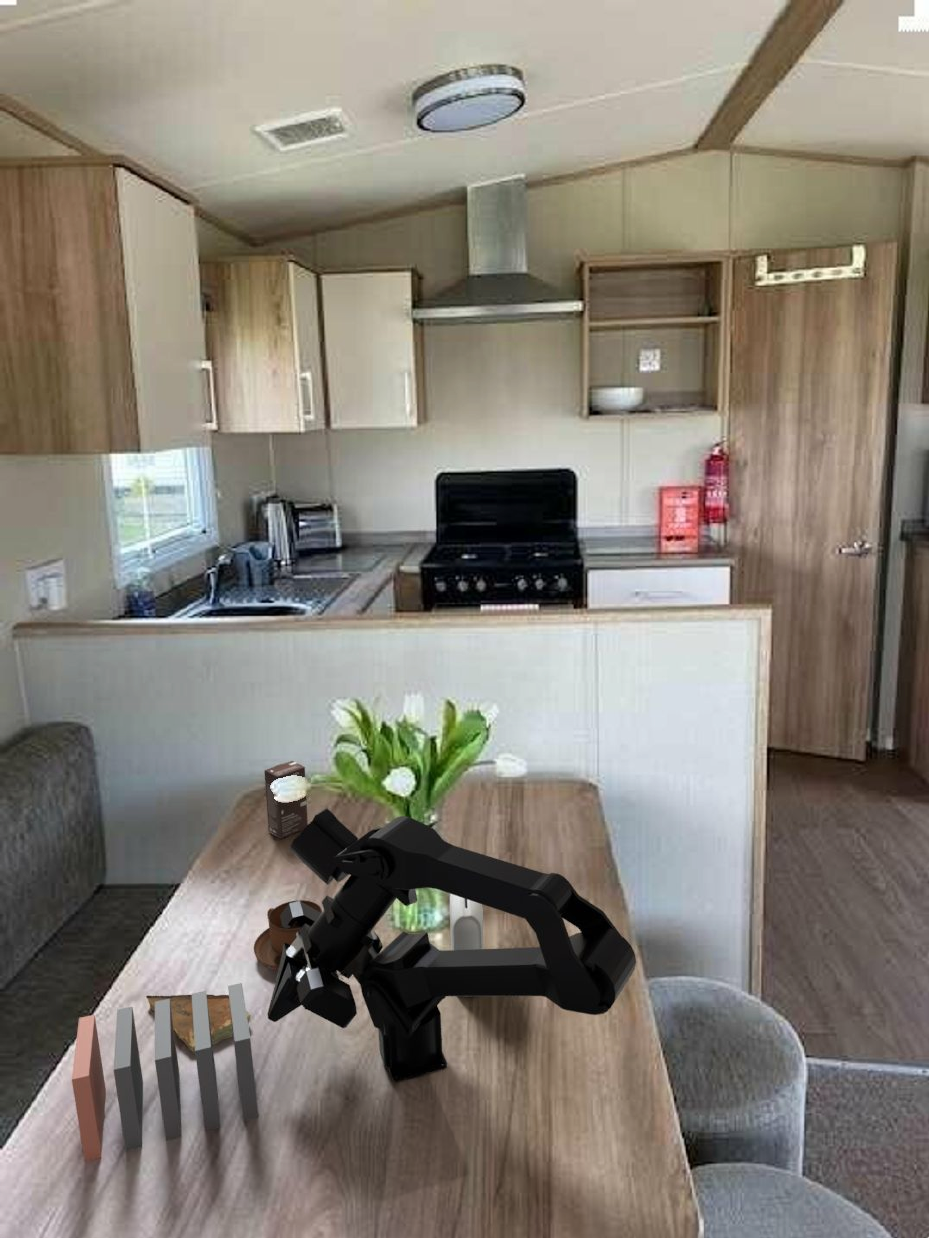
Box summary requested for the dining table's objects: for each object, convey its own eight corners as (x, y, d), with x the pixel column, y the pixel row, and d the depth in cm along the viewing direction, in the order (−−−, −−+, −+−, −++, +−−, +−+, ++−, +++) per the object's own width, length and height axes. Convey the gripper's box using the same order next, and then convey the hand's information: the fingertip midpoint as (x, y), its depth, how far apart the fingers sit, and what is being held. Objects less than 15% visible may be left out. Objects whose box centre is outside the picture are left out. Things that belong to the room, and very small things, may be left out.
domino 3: (179, 1073, 108) (169, 998, 106) (181, 1136, 99) (171, 1056, 96) (164, 1076, 108) (154, 1001, 105) (165, 1141, 98) (154, 1060, 96)
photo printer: (451, 951, 129) (448, 871, 126) (482, 950, 129) (479, 869, 126) (453, 999, 119) (449, 913, 116) (486, 997, 120) (483, 911, 116)
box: (282, 840, 163) (276, 776, 160) (268, 832, 166) (262, 769, 163) (310, 828, 167) (305, 765, 164) (296, 820, 170) (291, 759, 167)
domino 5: (249, 1056, 110) (242, 982, 108) (258, 1117, 101) (250, 1037, 99) (235, 1059, 110) (227, 985, 108) (243, 1121, 101) (234, 1041, 98)
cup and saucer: (237, 970, 127) (233, 930, 126) (283, 923, 138) (280, 886, 137) (315, 987, 123) (312, 945, 122) (356, 937, 134) (353, 898, 132)
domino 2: (143, 1082, 107) (132, 1006, 105) (142, 1147, 98) (130, 1065, 95) (128, 1085, 106) (117, 1009, 104) (125, 1151, 97) (113, 1069, 95)
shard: (147, 1007, 120) (145, 993, 120) (214, 978, 126) (212, 963, 126) (191, 1060, 111) (189, 1044, 110) (261, 1025, 116) (259, 1010, 116)
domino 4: (214, 1064, 109) (206, 990, 107) (220, 1126, 100) (210, 1046, 98) (200, 1068, 109) (191, 993, 106) (205, 1131, 100) (195, 1050, 97)
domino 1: (106, 1090, 106) (94, 1014, 103) (101, 1157, 97) (88, 1075, 94) (90, 1094, 105) (79, 1017, 103) (84, 1161, 96) (71, 1079, 94)
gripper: (430, 988, 101) (341, 1103, 101) (390, 900, 118) (314, 998, 118) (350, 943, 97) (257, 1062, 96) (321, 859, 114) (242, 960, 114)
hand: (271, 1018), depth 106 cm, fingers closed
